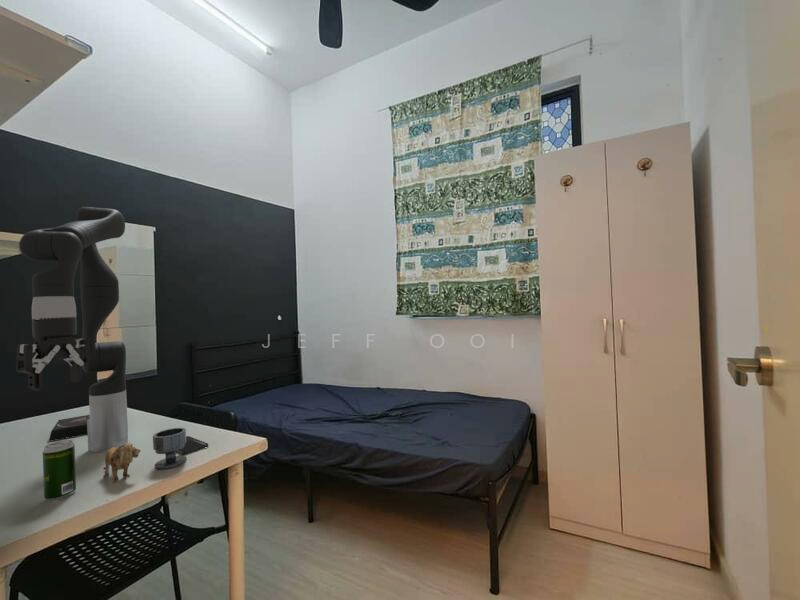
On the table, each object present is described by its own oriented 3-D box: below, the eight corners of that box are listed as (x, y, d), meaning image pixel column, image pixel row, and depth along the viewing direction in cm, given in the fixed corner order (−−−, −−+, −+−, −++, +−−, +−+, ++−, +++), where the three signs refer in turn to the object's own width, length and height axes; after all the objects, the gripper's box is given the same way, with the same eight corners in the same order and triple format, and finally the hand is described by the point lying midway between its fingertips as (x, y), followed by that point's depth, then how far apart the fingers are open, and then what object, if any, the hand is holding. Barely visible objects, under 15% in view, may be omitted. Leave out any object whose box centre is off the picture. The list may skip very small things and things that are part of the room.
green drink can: (82, 490, 86) (80, 439, 86) (58, 502, 80) (56, 448, 80) (62, 489, 86) (60, 439, 86) (37, 502, 81) (35, 448, 81)
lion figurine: (144, 476, 91) (142, 441, 91) (119, 486, 86) (118, 449, 87) (115, 467, 98) (113, 434, 98) (91, 475, 93) (89, 440, 94)
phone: (187, 435, 119) (209, 444, 110) (187, 439, 119) (209, 447, 110) (160, 443, 112) (181, 453, 103) (160, 447, 112) (181, 457, 103)
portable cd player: (56, 431, 136) (56, 420, 136) (114, 420, 146) (114, 410, 146) (49, 442, 122) (49, 431, 123) (113, 430, 133) (112, 419, 133)
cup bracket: (147, 469, 95) (146, 437, 95) (168, 457, 103) (167, 427, 103) (173, 469, 94) (171, 437, 94) (192, 457, 102) (191, 427, 102)
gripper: (71, 316, 92) (74, 380, 91) (4, 318, 77) (6, 393, 77) (98, 314, 91) (100, 379, 90) (34, 316, 76) (36, 393, 76)
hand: (57, 385), depth 84 cm, fingers open, 8 cm apart
